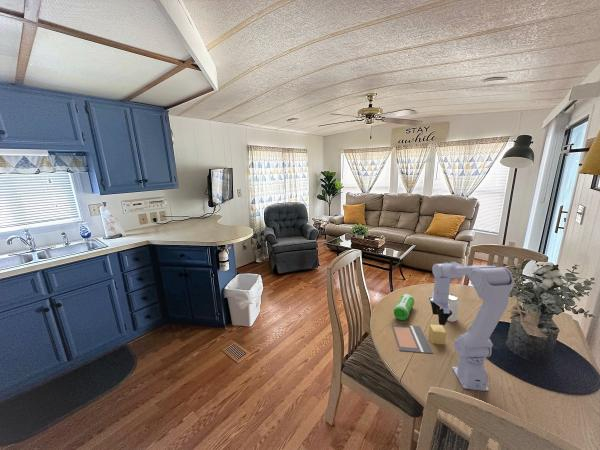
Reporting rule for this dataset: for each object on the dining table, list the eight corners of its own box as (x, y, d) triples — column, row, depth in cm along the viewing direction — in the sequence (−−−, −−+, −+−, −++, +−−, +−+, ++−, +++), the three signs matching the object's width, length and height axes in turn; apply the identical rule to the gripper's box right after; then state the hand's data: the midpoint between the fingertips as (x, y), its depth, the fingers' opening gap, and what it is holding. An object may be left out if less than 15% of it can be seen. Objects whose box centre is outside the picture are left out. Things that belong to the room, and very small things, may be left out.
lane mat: (432, 353, 102) (432, 352, 102) (399, 350, 104) (399, 349, 104) (419, 326, 119) (419, 326, 119) (391, 324, 121) (391, 324, 121)
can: (459, 322, 121) (461, 300, 118) (444, 321, 122) (446, 299, 120) (453, 315, 127) (456, 294, 125) (440, 314, 129) (442, 293, 126)
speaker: (407, 323, 122) (408, 309, 121) (392, 318, 127) (393, 305, 125) (414, 307, 136) (415, 294, 135) (401, 303, 140) (401, 291, 139)
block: (444, 344, 107) (446, 332, 105) (432, 343, 108) (433, 331, 106) (440, 337, 112) (441, 325, 110) (428, 336, 112) (429, 324, 111)
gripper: (425, 282, 112) (423, 309, 115) (437, 298, 98) (434, 328, 101) (442, 283, 111) (439, 310, 114) (456, 299, 97) (453, 330, 100)
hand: (438, 319), depth 107 cm, fingers open, 7 cm apart
